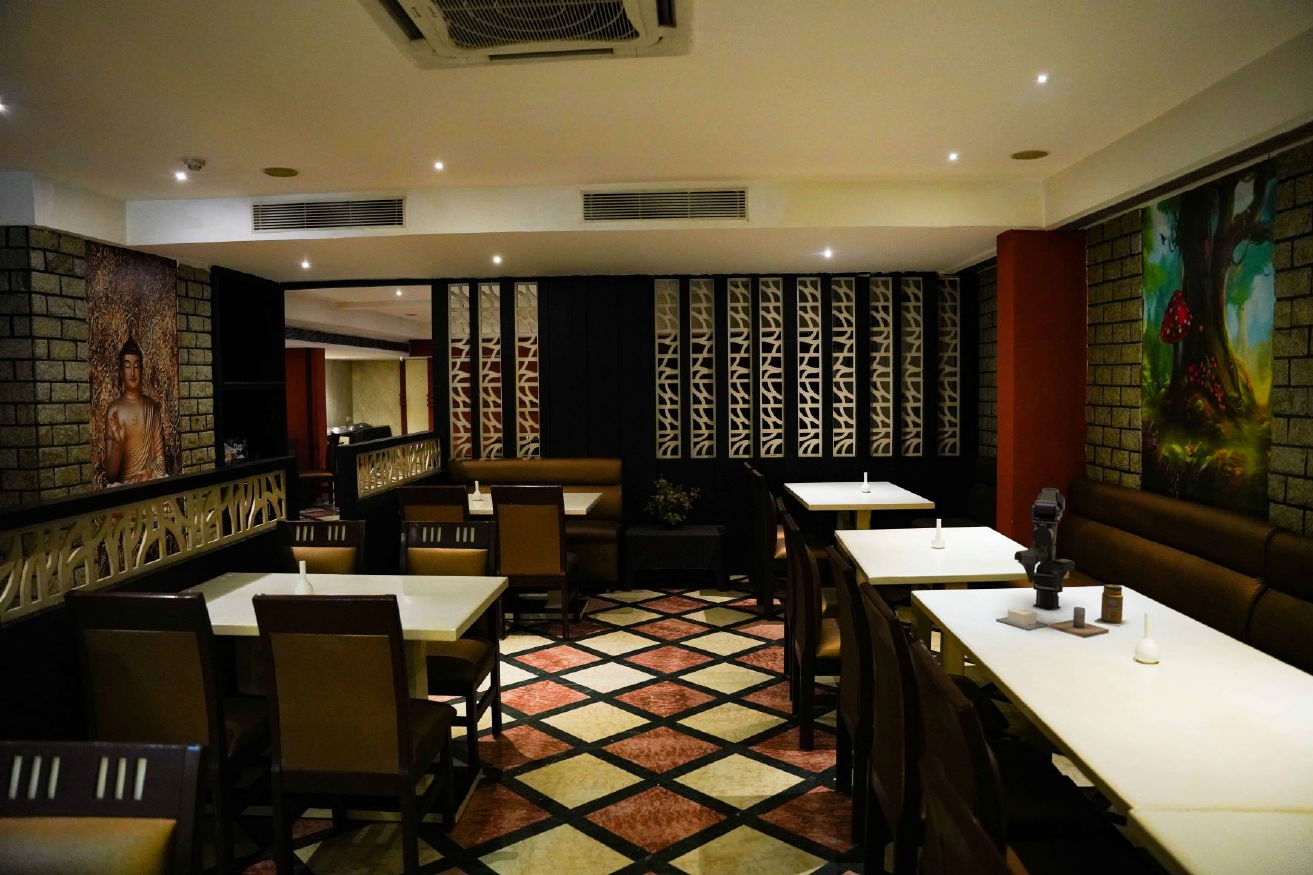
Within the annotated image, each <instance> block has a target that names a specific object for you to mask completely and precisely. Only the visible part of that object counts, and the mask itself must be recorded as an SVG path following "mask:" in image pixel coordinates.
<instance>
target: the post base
mask: <svg viewBox="0 0 1313 875" xmlns="http://www.w3.org/2000/svg"><path fill="white" fill-rule="evenodd" d="M1048 625H1049V626H1048V627H1049V628H1050V629H1052V628H1053V629H1052V630H1056V631H1059V632H1063V633H1067V634H1070V635H1074V636H1077V637H1080V638H1084V639H1086V638H1089V637H1090V638H1091V637H1095V636H1099V634H1100V635H1102V634H1108V633H1110V632H1109V630H1110V629H1109V628H1105V627H1102V626H1098V625H1094V624H1090V623H1087V622H1086V608H1084V607H1082V606H1081V607H1080V606H1075V607H1074V606H1073V619H1070V620H1066V621H1060V622H1056V623H1050V624H1048Z"/></svg>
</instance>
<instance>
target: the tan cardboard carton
mask: <svg viewBox="0 0 1313 875" xmlns="http://www.w3.org/2000/svg"><path fill="white" fill-rule="evenodd" d="M1007 617H1008V621H1011V622H1014V623H1017V624H1021V625H1029V624H1033V623H1036V621H1037V611H1036V612H1035V611H1032V610H1029V609H1026V608H1023V607H1017V608H1012V609H1009V610H1007Z"/></svg>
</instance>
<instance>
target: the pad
mask: <svg viewBox="0 0 1313 875" xmlns="http://www.w3.org/2000/svg"><path fill="white" fill-rule="evenodd" d="M995 621H996V622H998V623H1001V624H1005V625H1009V626H1012V627H1014V626H1015V627H1014V628H1018V629H1021V628H1022V629H1021V630H1024V629H1025V631H1027V632H1028V631H1029V632H1030V631H1033V629H1034V630H1037V628H1039V629H1042V628H1047V626H1048V627H1049V625H1050V624H1047V623H1045V622H1041V621H1039V620H1038V621H1037V620H1036V623H1033V624H1029V625H1021V624H1017V623H1014V622H1011V621H1008V616H1005V617H999V618H995Z"/></svg>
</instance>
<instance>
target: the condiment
mask: <svg viewBox="0 0 1313 875" xmlns="http://www.w3.org/2000/svg"><path fill="white" fill-rule="evenodd" d="M1122 593H1123V587H1122V586H1121V585H1117V584H1112V583H1111V584H1110V583H1106V584H1104V586H1103V592H1102V593H1101V609H1100V610H1101V611H1100V617H1099V618H1097V619H1095V620H1094V622H1095V623H1099V624H1102V625H1103V624H1104V625H1109V626H1113V627H1114V626H1115V627H1119V626H1122V625H1124V624H1125V623H1126V622H1127V620H1124V619H1123V604H1124V595H1123V594H1122Z"/></svg>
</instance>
